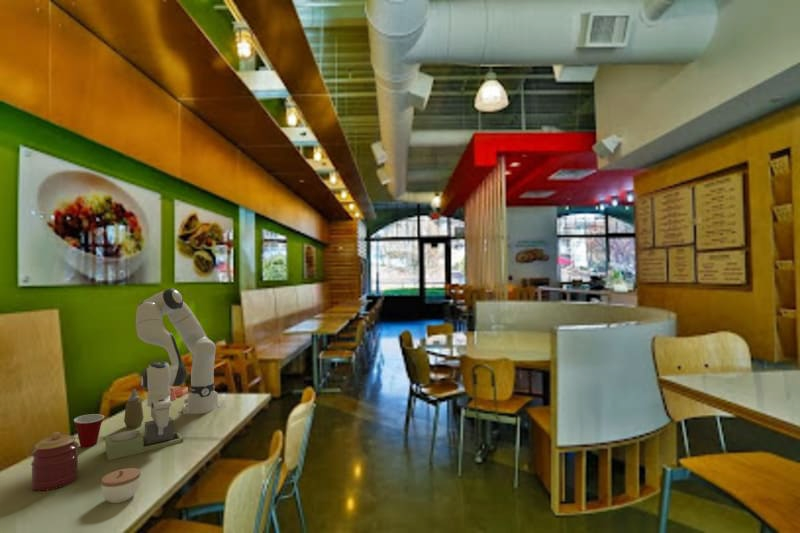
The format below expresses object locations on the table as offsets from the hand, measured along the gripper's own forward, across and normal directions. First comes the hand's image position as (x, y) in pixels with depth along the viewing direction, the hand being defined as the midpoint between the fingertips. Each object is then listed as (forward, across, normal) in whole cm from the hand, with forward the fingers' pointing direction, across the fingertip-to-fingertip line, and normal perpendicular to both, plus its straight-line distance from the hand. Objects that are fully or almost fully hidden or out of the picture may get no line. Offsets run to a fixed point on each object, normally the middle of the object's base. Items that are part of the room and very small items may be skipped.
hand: (159, 432), depth 184 cm
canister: (+6, +15, -35) cm, 38 cm away
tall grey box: (+3, 0, 0) cm, 3 cm away
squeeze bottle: (+5, -33, -6) cm, 34 cm away
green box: (+5, 0, -7) cm, 8 cm away
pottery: (+6, -76, +19) cm, 78 cm away
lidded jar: (+5, +44, -17) cm, 48 cm away
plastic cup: (+5, -19, -24) cm, 31 cm away
